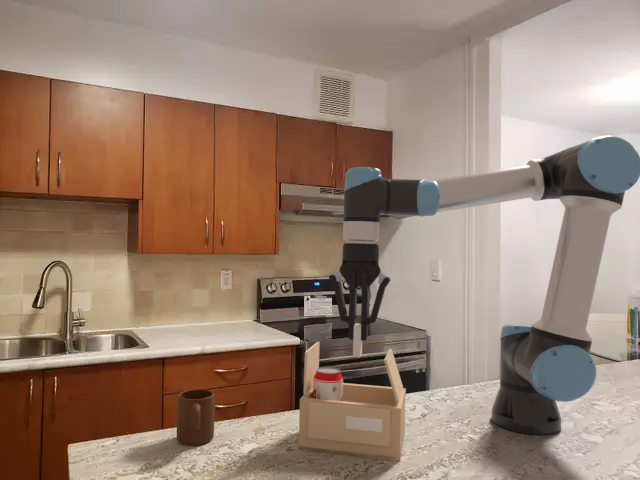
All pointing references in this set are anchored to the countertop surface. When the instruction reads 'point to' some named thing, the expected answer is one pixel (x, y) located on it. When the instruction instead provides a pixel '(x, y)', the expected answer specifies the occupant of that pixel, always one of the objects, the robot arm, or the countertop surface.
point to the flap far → (310, 366)
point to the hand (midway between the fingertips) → (357, 355)
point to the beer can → (328, 384)
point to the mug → (195, 417)
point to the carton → (354, 422)
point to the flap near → (393, 375)
